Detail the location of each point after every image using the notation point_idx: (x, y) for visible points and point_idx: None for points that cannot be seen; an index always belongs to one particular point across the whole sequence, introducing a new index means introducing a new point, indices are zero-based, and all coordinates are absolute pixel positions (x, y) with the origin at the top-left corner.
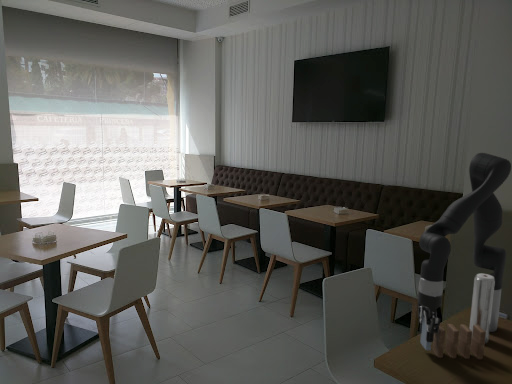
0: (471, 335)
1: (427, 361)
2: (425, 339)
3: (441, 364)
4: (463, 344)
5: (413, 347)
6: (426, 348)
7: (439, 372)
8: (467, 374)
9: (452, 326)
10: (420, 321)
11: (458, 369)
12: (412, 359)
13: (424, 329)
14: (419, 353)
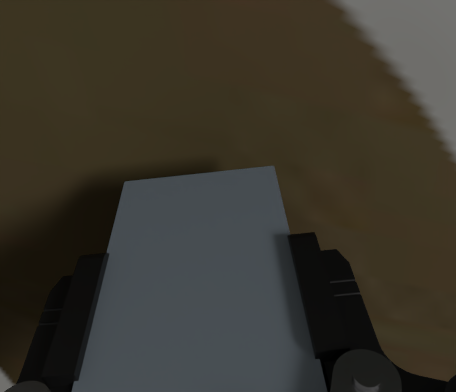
0: None
1: (74, 143)
2: (144, 249)
3: (69, 226)
4: None
5: (300, 80)
6: (121, 197)
7: None
8: (9, 321)
9: None
10: (350, 378)
11: (47, 296)
12: (55, 12)
13: (195, 336)
14: (196, 109)
